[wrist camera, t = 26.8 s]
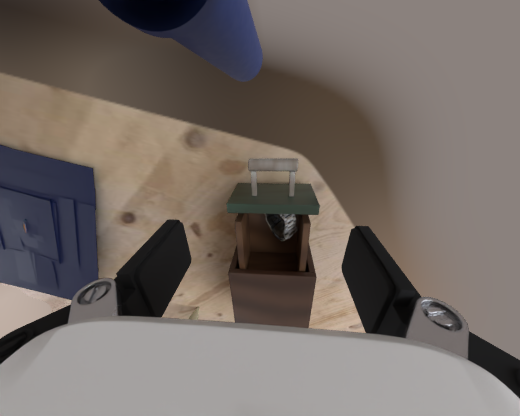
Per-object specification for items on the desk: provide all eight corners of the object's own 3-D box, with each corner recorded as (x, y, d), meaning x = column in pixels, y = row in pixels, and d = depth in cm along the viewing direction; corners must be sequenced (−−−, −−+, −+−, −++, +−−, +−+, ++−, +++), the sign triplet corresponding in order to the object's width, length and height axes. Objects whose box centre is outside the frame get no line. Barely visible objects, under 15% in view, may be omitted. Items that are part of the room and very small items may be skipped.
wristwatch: (260, 223, 28) (284, 246, 26) (262, 199, 25) (290, 223, 22) (275, 213, 30) (299, 234, 27) (279, 189, 26) (307, 211, 24)
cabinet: (239, 234, 33) (228, 272, 26) (307, 237, 32) (316, 277, 25) (244, 288, 39) (236, 332, 32) (301, 292, 38) (307, 337, 31)
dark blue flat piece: (-2, 268, 41) (-26, 280, 38) (-43, 122, 30) (-83, 121, 27) (110, 296, 42) (96, 311, 39) (109, 166, 32) (89, 169, 28)
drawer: (235, 151, 26) (221, 164, 20) (314, 150, 25) (325, 164, 19) (243, 250, 34) (235, 281, 28) (303, 252, 33) (308, 285, 27)
